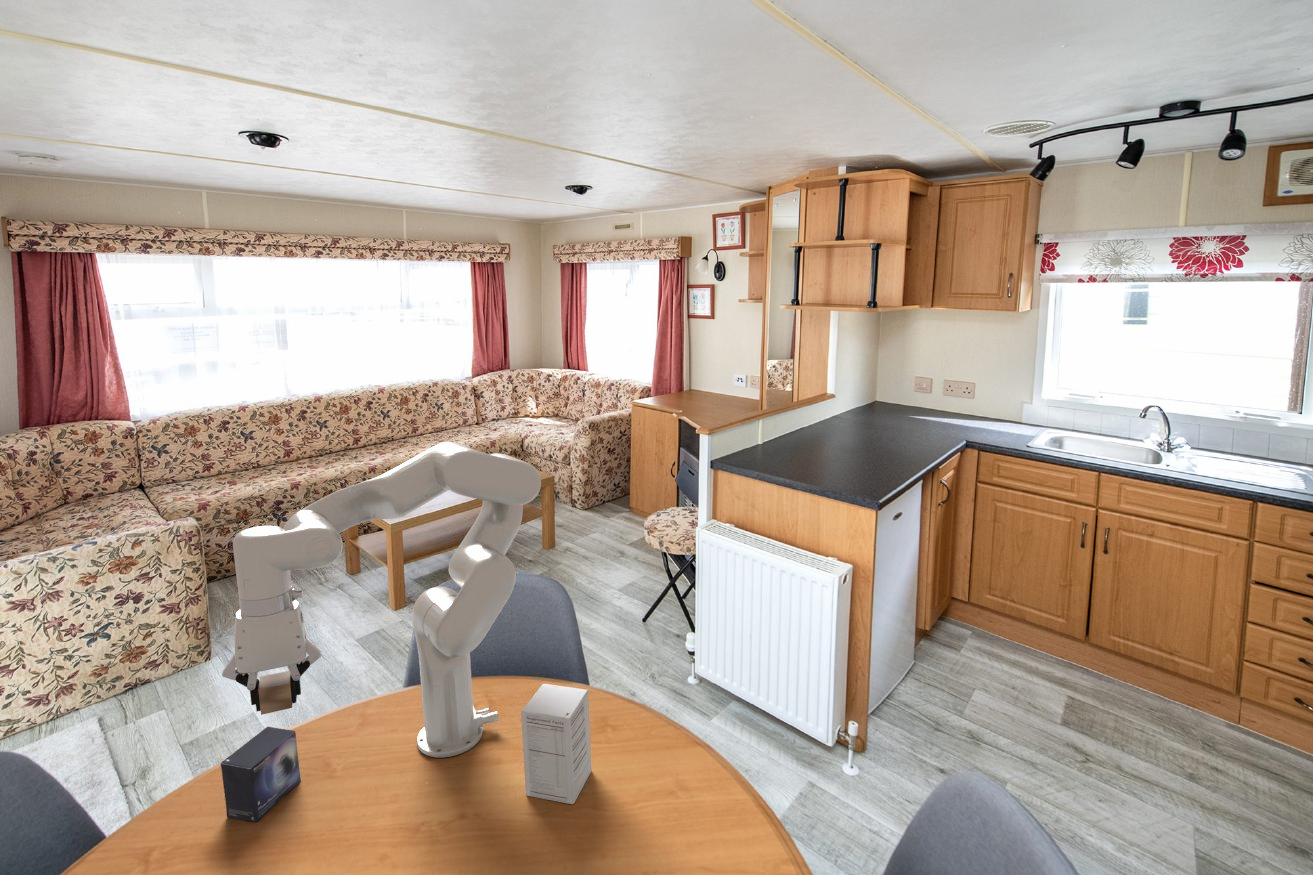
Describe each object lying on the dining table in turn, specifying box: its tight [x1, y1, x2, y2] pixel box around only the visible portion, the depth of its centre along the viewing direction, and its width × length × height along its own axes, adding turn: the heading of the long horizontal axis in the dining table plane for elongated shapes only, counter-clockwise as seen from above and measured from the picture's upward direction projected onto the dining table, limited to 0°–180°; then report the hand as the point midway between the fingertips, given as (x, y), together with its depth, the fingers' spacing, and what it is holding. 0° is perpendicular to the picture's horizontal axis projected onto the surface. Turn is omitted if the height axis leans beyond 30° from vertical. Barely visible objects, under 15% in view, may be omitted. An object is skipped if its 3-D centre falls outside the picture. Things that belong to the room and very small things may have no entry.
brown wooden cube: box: [258, 670, 294, 716], centre depth 109 cm, size 4×4×4 cm
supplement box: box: [520, 683, 592, 805], centre depth 117 cm, size 10×9×17 cm
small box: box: [220, 726, 302, 823], centre depth 114 cm, size 11×6×10 cm, turn 168°
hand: (277, 701), depth 110 cm, fingers closed on brown wooden cube, 4 cm apart
